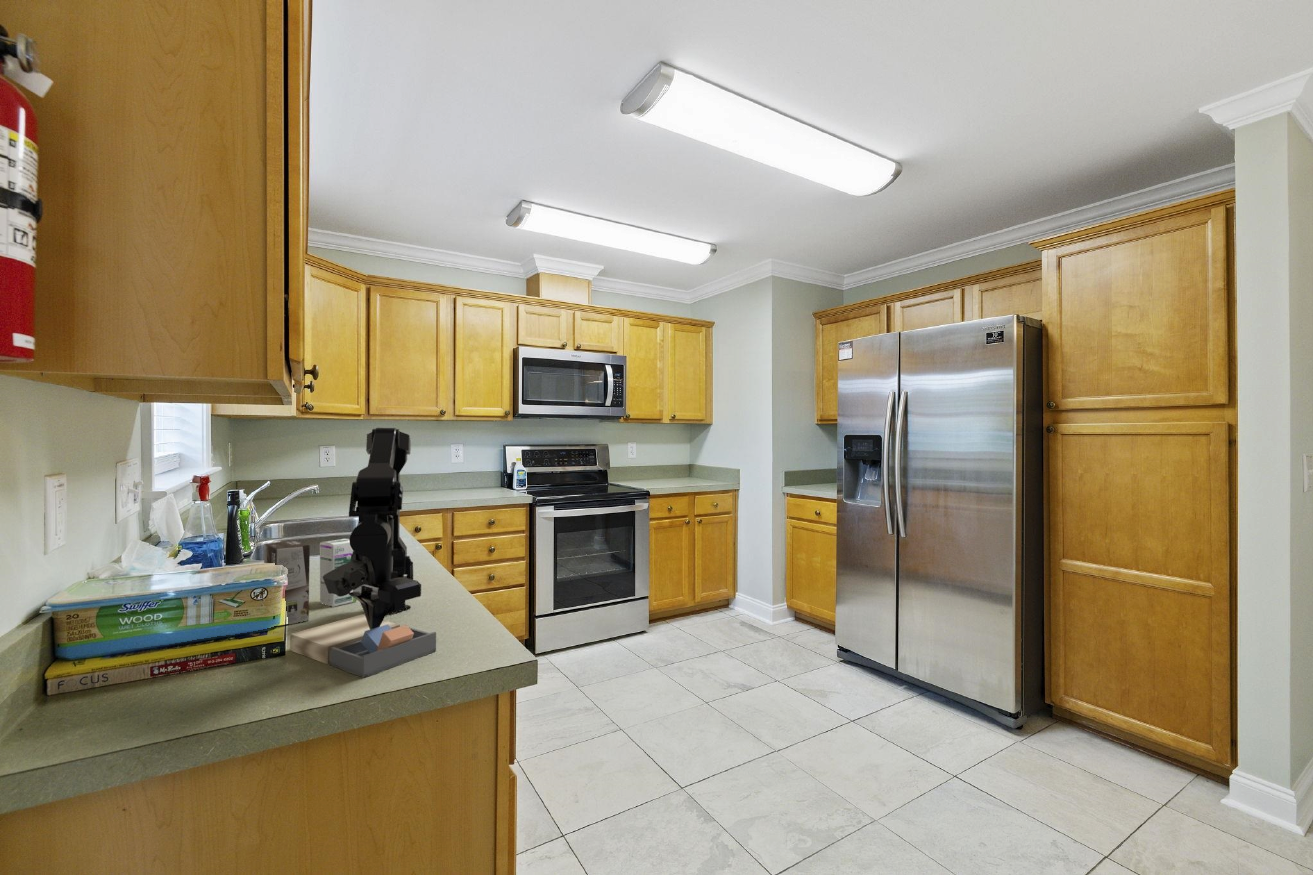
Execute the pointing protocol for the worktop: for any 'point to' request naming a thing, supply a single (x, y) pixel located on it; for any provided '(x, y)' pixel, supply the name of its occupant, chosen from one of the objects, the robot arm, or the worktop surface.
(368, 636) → the blue-glazed tile
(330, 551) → the syrup box
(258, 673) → the worktop surface
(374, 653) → the charcoal tray
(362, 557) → the robot arm
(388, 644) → the terracotta tile
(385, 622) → the birch board
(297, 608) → the coffee box
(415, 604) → the worktop surface
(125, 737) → the worktop surface
